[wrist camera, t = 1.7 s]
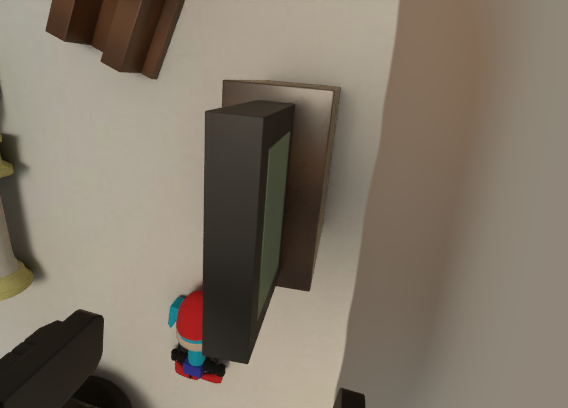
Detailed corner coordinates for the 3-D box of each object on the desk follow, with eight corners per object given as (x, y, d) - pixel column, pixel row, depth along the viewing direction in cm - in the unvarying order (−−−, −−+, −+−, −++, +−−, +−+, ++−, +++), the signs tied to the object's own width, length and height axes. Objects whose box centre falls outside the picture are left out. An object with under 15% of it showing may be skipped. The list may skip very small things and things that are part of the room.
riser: (267, 80, 35) (222, 79, 23) (340, 87, 34) (334, 90, 22) (258, 216, 40) (216, 276, 28) (322, 225, 39) (309, 292, 27)
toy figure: (231, 373, 49) (237, 289, 42) (215, 407, 45) (218, 320, 38) (180, 355, 51) (177, 271, 43) (160, 387, 46) (153, 299, 39)
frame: (256, 99, 23) (203, 110, 15) (296, 103, 23) (265, 117, 14) (246, 269, 27) (200, 355, 18) (280, 274, 27) (248, 365, 18)
